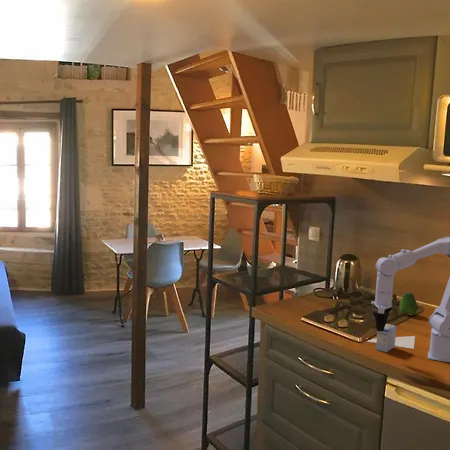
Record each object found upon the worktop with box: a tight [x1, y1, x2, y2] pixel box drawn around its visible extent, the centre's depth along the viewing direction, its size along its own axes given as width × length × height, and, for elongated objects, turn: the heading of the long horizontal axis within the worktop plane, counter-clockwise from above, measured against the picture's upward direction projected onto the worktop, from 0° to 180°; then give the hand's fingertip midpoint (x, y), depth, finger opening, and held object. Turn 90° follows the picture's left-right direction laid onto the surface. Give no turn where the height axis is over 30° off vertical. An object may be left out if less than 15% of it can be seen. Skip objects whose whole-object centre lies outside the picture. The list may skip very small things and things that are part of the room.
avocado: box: [398, 291, 418, 316], centre depth 235 cm, size 8×8×12 cm
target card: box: [366, 335, 416, 350], centre depth 205 cm, size 20×20×1 cm
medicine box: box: [375, 323, 397, 353], centre depth 190 cm, size 8×4×9 cm, turn 141°
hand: (381, 328), depth 182 cm, fingers open, 7 cm apart
